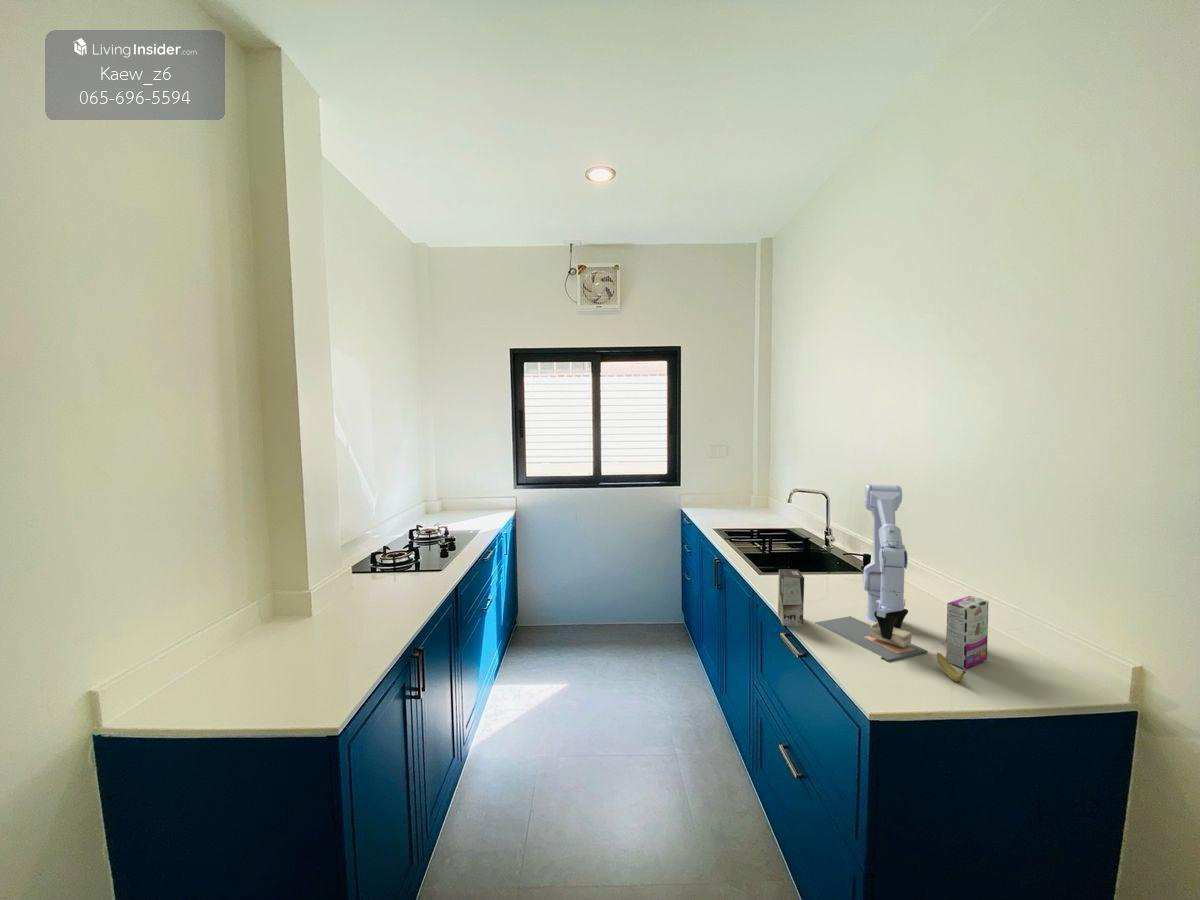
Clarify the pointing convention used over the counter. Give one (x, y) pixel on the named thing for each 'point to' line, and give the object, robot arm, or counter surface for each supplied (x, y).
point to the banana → (949, 668)
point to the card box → (897, 638)
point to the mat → (869, 638)
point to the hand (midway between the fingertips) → (890, 635)
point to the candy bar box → (967, 632)
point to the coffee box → (791, 597)
